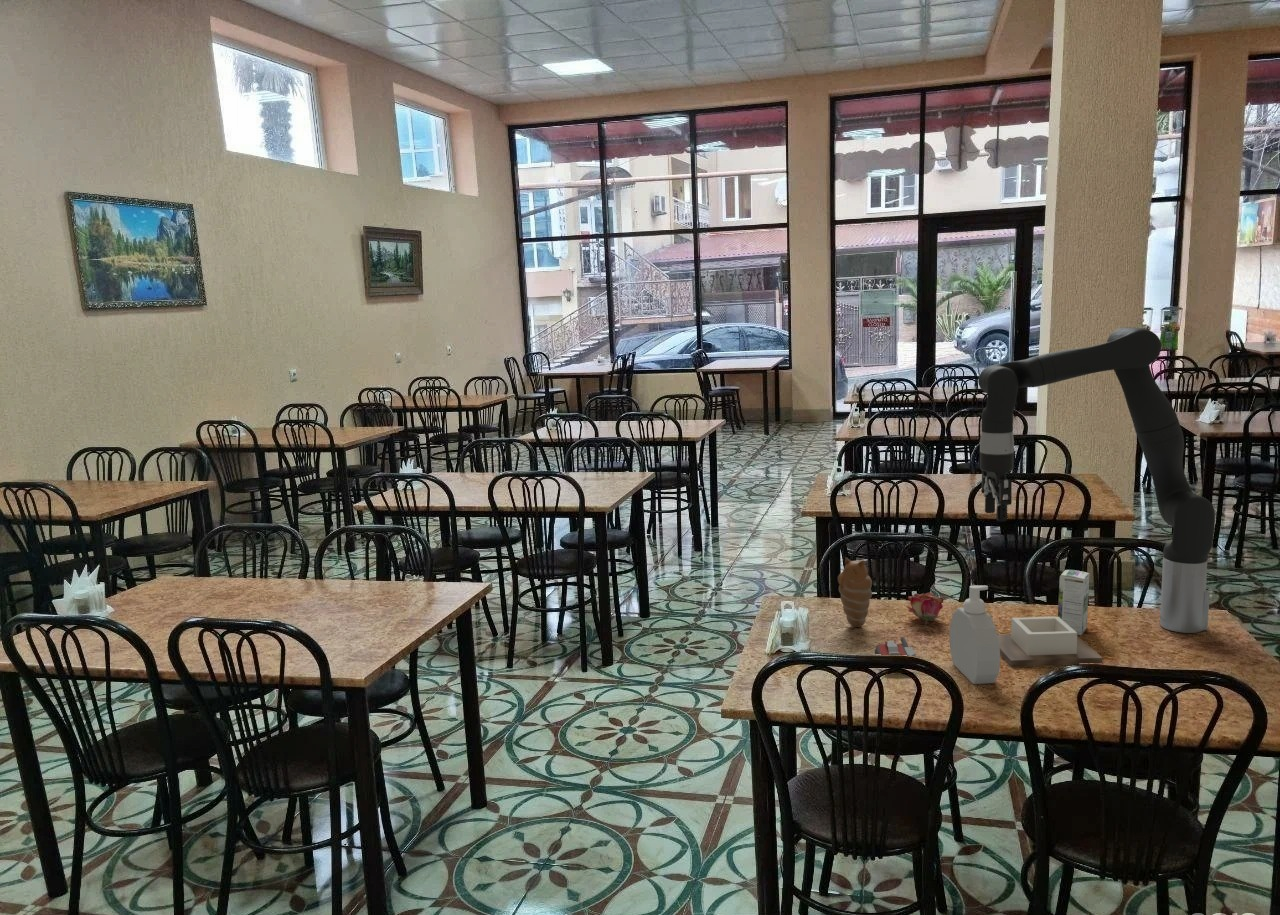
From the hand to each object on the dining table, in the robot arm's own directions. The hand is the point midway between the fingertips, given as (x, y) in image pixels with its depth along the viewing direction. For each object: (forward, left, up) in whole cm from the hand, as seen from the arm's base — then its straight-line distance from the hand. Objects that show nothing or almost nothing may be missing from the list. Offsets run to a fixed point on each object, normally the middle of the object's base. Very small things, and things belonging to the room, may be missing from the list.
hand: (995, 516), depth 225 cm
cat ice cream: (+32, -7, -30) cm, 44 cm away
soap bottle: (+12, +24, -30) cm, 40 cm away
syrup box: (-19, 0, -30) cm, 35 cm away
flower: (+14, -10, -30) cm, 34 cm away
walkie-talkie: (+27, +14, -30) cm, 43 cm away
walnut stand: (-7, +13, -29) cm, 33 cm away
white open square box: (-7, +13, -28) cm, 31 cm away
